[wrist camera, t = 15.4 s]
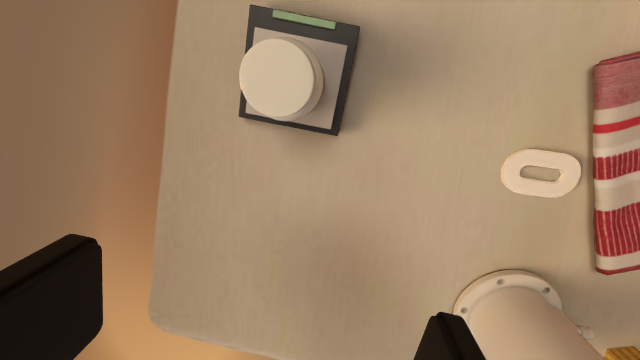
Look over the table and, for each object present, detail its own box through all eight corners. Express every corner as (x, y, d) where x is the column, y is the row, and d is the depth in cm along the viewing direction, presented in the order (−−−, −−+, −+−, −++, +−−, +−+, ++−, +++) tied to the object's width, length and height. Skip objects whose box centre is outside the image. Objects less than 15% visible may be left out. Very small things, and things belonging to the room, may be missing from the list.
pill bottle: (264, 111, 29) (230, 123, 19) (264, 46, 27) (227, 24, 17) (323, 115, 28) (319, 129, 19) (327, 50, 27) (325, 31, 17)
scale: (358, 30, 28) (360, 25, 26) (337, 133, 32) (337, 137, 29) (255, 9, 28) (248, 2, 26) (244, 114, 31) (236, 117, 29)
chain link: (566, 199, 33) (584, 155, 31) (570, 201, 32) (589, 157, 31) (494, 188, 33) (509, 145, 31) (497, 190, 32) (512, 146, 31)
